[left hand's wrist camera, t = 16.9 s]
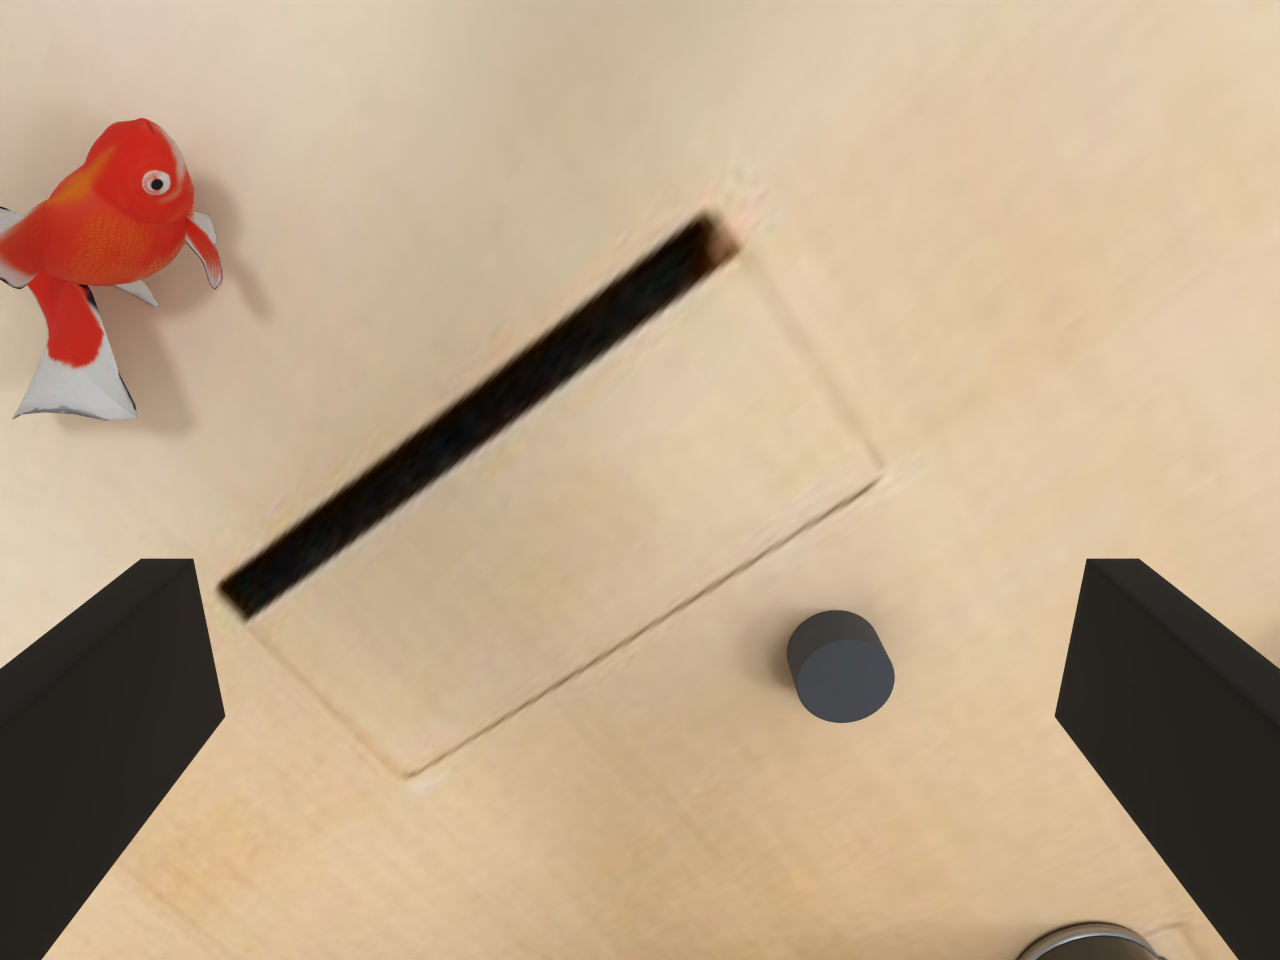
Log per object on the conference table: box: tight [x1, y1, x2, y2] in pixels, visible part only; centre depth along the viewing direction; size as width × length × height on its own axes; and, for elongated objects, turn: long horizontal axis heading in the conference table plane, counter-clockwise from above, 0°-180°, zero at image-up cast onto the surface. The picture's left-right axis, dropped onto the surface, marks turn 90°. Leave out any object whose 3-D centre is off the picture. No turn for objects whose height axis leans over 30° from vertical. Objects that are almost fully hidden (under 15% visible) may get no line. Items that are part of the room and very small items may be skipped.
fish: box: [0, 118, 223, 421], centre depth 35 cm, size 11×16×10 cm
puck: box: [787, 611, 895, 723], centre depth 44 cm, size 5×5×3 cm
